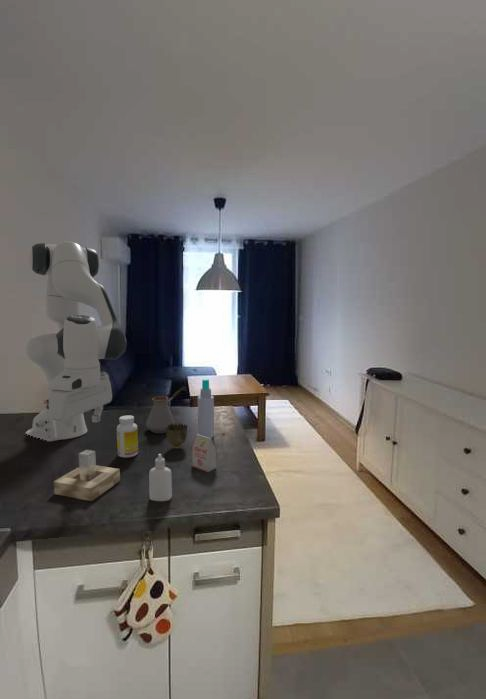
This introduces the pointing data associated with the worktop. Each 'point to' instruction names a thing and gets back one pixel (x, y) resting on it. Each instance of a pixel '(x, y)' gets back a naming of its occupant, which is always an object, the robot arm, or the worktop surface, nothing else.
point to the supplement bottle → (127, 437)
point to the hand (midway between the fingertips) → (84, 427)
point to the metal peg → (87, 465)
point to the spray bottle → (206, 411)
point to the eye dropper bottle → (160, 481)
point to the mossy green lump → (176, 435)
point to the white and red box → (203, 453)
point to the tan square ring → (86, 483)
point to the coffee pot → (161, 414)
